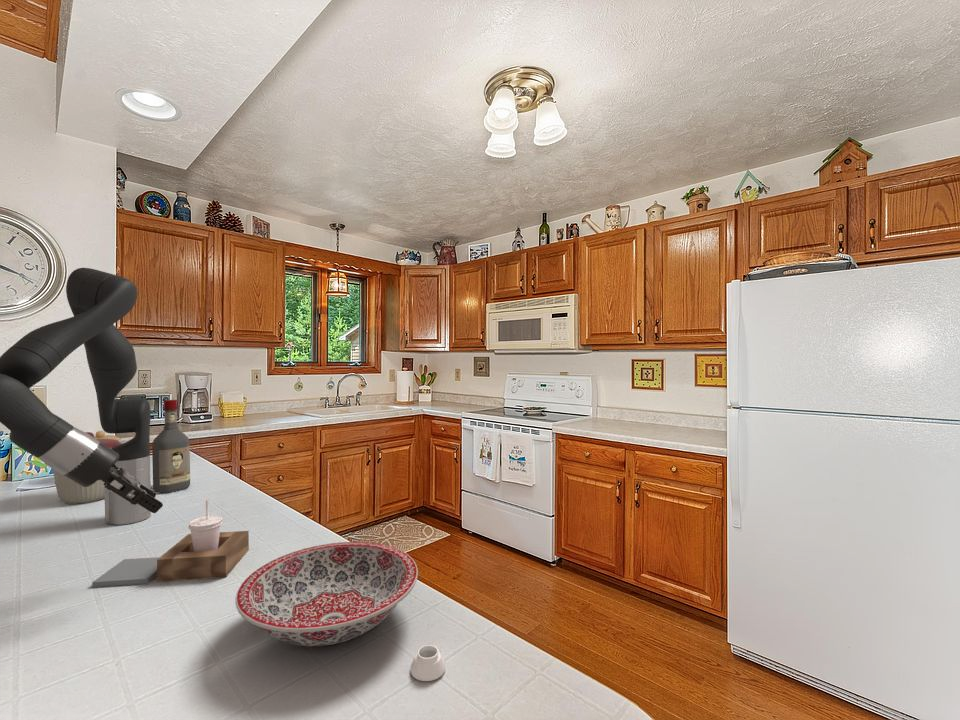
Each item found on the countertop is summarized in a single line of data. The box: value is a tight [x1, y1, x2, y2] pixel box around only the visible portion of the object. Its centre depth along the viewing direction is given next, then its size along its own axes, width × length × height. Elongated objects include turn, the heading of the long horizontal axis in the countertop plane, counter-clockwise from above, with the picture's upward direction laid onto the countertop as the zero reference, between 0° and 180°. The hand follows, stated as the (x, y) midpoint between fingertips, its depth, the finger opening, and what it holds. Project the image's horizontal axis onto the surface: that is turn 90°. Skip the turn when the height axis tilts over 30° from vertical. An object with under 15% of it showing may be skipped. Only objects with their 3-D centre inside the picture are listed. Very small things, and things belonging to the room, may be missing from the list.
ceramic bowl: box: [234, 541, 419, 647], centre depth 78 cm, size 29×29×8 cm
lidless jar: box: [410, 644, 446, 682], centre depth 67 cm, size 5×3×5 cm
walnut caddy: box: [156, 530, 250, 582], centre depth 100 cm, size 13×13×4 cm
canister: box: [52, 431, 124, 505], centre depth 144 cm, size 18×18×21 cm
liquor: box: [151, 399, 191, 494], centre depth 154 cm, size 9×9×30 cm
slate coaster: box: [91, 556, 161, 588], centre depth 96 cm, size 10×10×1 cm
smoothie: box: [188, 499, 224, 552], centre depth 100 cm, size 6×6×14 cm
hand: (155, 503), depth 93 cm, fingers open, 8 cm apart
